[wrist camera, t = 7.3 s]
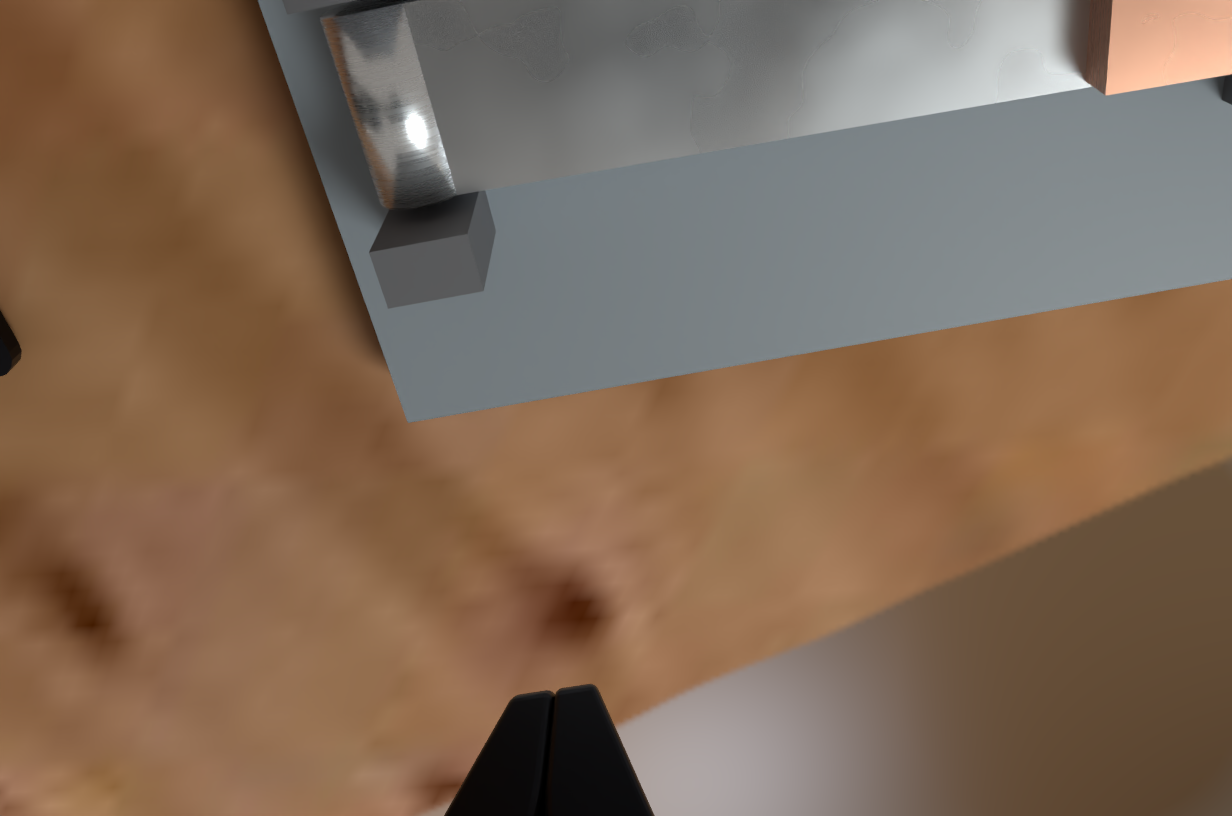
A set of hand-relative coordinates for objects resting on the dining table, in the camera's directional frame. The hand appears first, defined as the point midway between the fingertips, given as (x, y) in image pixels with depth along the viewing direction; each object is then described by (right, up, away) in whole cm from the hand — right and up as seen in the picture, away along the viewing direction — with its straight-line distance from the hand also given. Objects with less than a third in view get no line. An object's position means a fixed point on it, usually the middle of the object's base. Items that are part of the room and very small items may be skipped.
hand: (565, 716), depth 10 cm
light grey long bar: (+4, +9, +6) cm, 12 cm away
